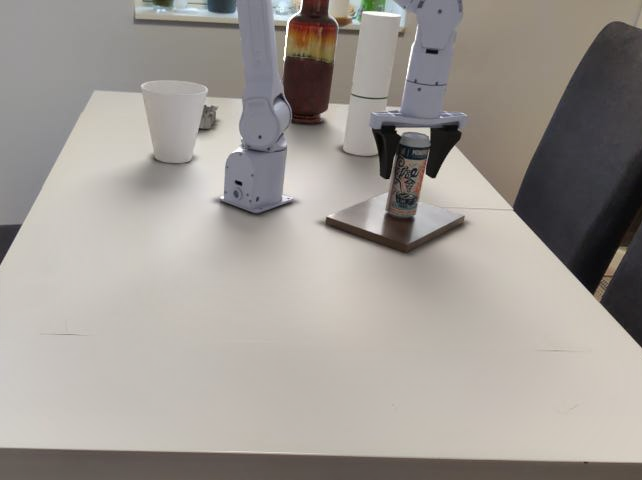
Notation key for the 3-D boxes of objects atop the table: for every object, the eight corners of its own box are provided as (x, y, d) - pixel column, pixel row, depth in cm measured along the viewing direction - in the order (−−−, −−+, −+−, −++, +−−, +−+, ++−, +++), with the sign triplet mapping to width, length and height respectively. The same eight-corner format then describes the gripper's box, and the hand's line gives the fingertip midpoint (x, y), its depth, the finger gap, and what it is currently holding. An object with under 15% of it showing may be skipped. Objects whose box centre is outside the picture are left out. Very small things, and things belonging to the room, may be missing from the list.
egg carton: (187, 115, 158) (187, 96, 156) (219, 119, 157) (220, 100, 155) (174, 127, 149) (175, 106, 147) (209, 130, 148) (210, 110, 146)
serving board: (405, 252, 100) (407, 244, 99) (325, 223, 107) (326, 216, 106) (463, 222, 111) (465, 215, 111) (387, 198, 119) (388, 191, 118)
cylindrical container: (377, 147, 146) (399, 13, 132) (379, 157, 140) (403, 17, 126) (342, 144, 146) (361, 10, 133) (343, 153, 140) (363, 14, 127)
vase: (272, 113, 165) (282, -13, 151) (315, 112, 168) (330, -11, 154) (288, 125, 156) (301, -7, 142) (334, 124, 160) (351, -5, 146)
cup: (162, 170, 124) (162, 96, 117) (129, 152, 131) (128, 82, 125) (218, 162, 130) (221, 91, 123) (183, 145, 138) (184, 78, 131)
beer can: (387, 218, 107) (401, 138, 101) (382, 207, 111) (396, 130, 105) (418, 220, 107) (435, 141, 101) (412, 209, 111) (428, 132, 105)
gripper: (457, 76, 104) (437, 167, 111) (367, 74, 100) (352, 169, 108) (483, 86, 98) (460, 182, 106) (388, 85, 95) (371, 184, 102)
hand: (407, 176), depth 106 cm, fingers open, 7 cm apart
